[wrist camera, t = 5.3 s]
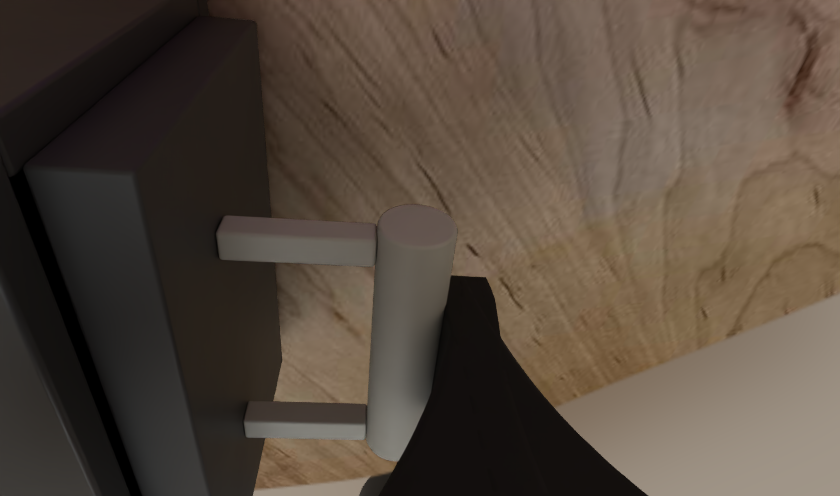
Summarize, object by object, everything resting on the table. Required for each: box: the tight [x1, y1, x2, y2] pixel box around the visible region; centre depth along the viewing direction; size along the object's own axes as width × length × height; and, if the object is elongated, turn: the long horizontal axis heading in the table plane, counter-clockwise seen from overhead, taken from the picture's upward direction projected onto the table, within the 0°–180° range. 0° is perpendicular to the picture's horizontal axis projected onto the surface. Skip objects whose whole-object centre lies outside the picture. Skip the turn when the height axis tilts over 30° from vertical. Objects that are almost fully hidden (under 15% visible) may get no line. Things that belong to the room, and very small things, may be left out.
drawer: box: [9, 16, 458, 496], centre depth 11 cm, size 16×10×7 cm, turn 85°
